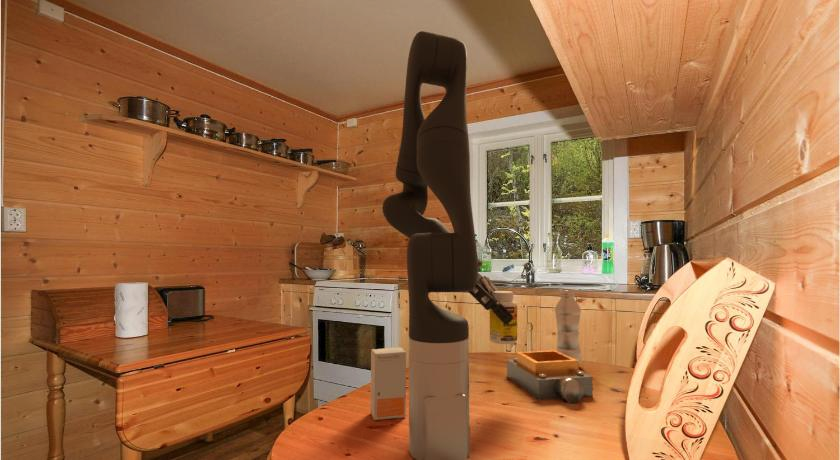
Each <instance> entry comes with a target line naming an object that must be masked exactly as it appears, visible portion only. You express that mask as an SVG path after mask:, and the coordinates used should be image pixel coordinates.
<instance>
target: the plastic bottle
mask: <svg viewBox="0 0 840 460" xmlns="http://www.w3.org/2000/svg"><path fill="white" fill-rule="evenodd" d="M559 297H560V299H559V300H558V302H557V303H556V305H555V308H554V313H555V320H556V329H557V331H556V332H557V333H556V334H557V339H556V348H555V350H556V351H559V352H561V353H563V354H565V355H567V356H570V357H572V358H574V359H576V360H578V361H579V366H580V365H581V363H582V359H583V358H582V357H583V356H582V351H581V347H580V323H581V322H580V320H581V313H582V310H581V307H580V305H579V303H578V302H577V300H575V297H576V295H575V289H572V288H561V289H559Z"/></svg>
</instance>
